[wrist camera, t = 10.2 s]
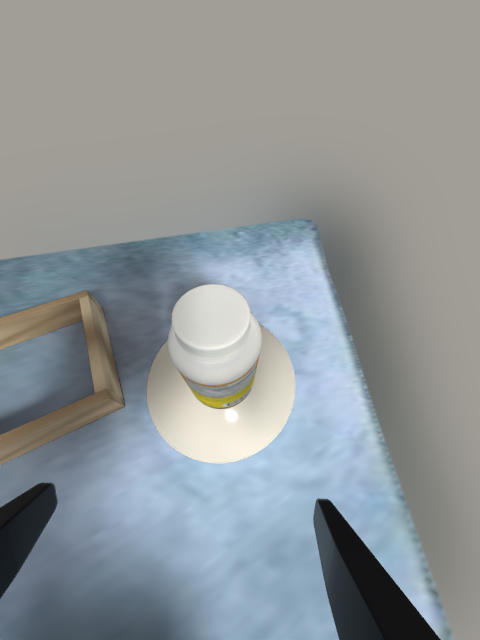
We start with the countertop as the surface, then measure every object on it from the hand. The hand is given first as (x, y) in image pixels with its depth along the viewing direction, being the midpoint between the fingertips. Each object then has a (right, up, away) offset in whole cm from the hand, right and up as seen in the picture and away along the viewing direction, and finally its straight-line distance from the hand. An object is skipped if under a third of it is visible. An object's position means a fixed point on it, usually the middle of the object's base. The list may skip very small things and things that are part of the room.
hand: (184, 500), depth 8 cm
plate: (0, +1, +13) cm, 13 cm away
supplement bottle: (0, +1, +12) cm, 12 cm away
